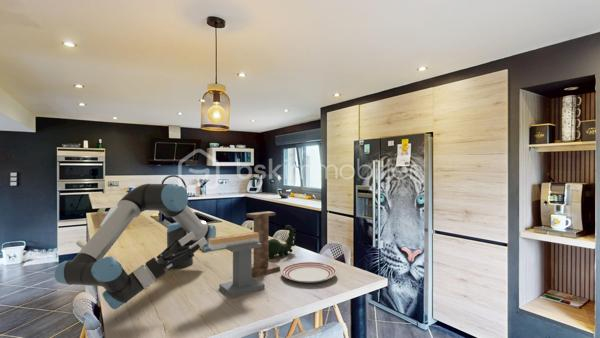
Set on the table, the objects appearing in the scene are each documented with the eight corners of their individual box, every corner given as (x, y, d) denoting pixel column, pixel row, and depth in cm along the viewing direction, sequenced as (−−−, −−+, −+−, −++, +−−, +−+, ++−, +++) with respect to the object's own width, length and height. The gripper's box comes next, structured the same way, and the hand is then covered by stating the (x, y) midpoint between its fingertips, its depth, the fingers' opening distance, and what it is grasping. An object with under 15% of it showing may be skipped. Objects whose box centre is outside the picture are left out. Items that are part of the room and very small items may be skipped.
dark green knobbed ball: (287, 253, 199) (257, 258, 181) (289, 223, 200) (259, 225, 182) (297, 256, 193) (267, 261, 174) (299, 225, 194) (270, 227, 176)
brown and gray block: (212, 249, 126) (212, 240, 126) (208, 247, 129) (208, 238, 129) (259, 242, 139) (259, 233, 139) (254, 240, 143) (254, 231, 143)
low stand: (231, 297, 127) (231, 249, 127) (219, 288, 136) (219, 243, 136) (264, 288, 137) (264, 243, 137) (251, 280, 146) (251, 238, 146)
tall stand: (253, 276, 151) (253, 215, 151) (241, 270, 161) (241, 213, 161) (280, 270, 161) (280, 213, 161) (267, 264, 170) (268, 210, 170)
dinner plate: (296, 291, 134) (296, 283, 134) (272, 272, 159) (272, 266, 159) (347, 281, 147) (347, 274, 147) (318, 264, 171) (318, 258, 171)
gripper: (148, 270, 125) (193, 238, 136) (164, 290, 105) (216, 250, 116) (137, 256, 122) (185, 224, 134) (152, 273, 103) (206, 234, 114)
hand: (199, 236), depth 125 cm, fingers open, 13 cm apart
